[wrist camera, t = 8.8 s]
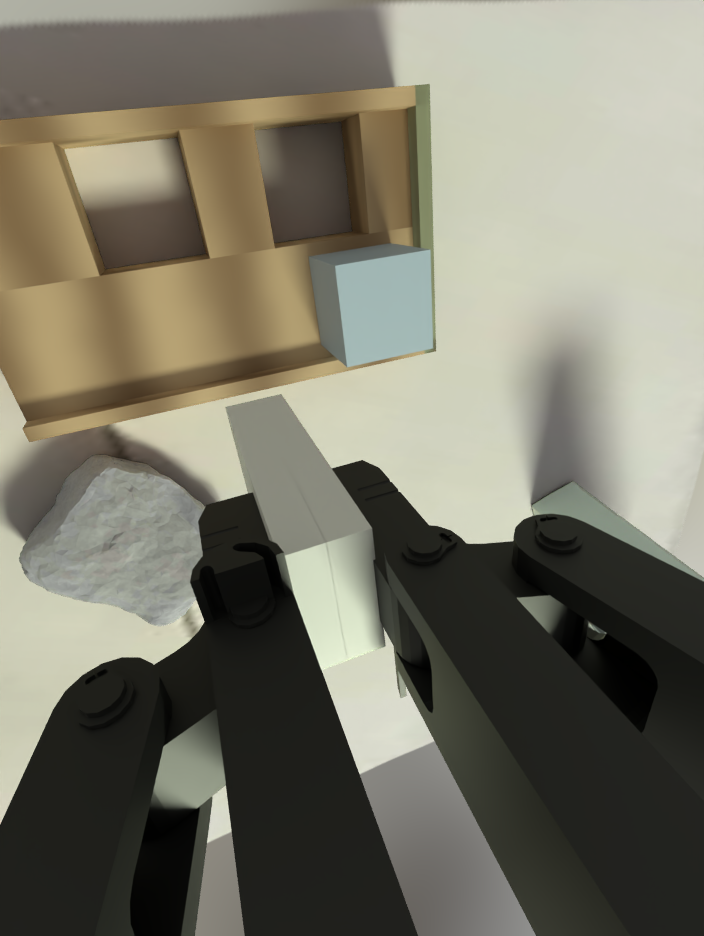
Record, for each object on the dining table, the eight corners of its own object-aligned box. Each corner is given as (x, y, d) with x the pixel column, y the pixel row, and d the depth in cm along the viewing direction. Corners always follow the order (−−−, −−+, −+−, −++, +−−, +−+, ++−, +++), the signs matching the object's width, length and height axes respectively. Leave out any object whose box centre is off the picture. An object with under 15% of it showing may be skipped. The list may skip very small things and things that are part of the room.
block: (321, 344, 30) (347, 367, 25) (308, 256, 27) (335, 265, 23) (396, 329, 31) (433, 348, 27) (390, 243, 28) (430, 249, 24)
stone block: (95, 427, 32) (11, 552, 32) (98, 446, 28) (2, 589, 28) (240, 502, 39) (171, 606, 39) (259, 526, 35) (182, 642, 35)
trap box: (44, 415, 29) (29, 442, 26) (-85, 141, 22) (-129, 130, 19) (409, 337, 35) (435, 351, 31) (397, 98, 28) (429, 84, 24)
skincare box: (524, 507, 47) (667, 626, 33) (571, 478, 47) (731, 584, 34) (559, 627, 58) (676, 751, 45) (597, 604, 59) (724, 719, 45)
